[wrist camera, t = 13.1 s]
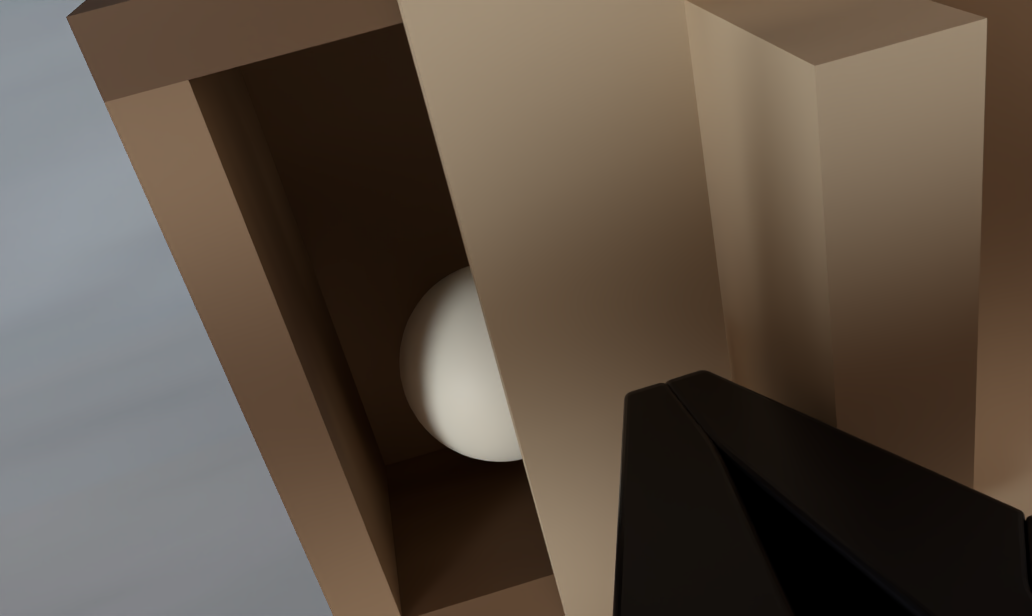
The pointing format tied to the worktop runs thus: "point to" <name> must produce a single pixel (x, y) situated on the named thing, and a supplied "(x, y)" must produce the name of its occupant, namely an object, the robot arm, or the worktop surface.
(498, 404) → the ball
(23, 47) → the worktop surface
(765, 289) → the lid
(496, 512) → the walnut box
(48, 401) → the worktop surface
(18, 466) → the worktop surface
